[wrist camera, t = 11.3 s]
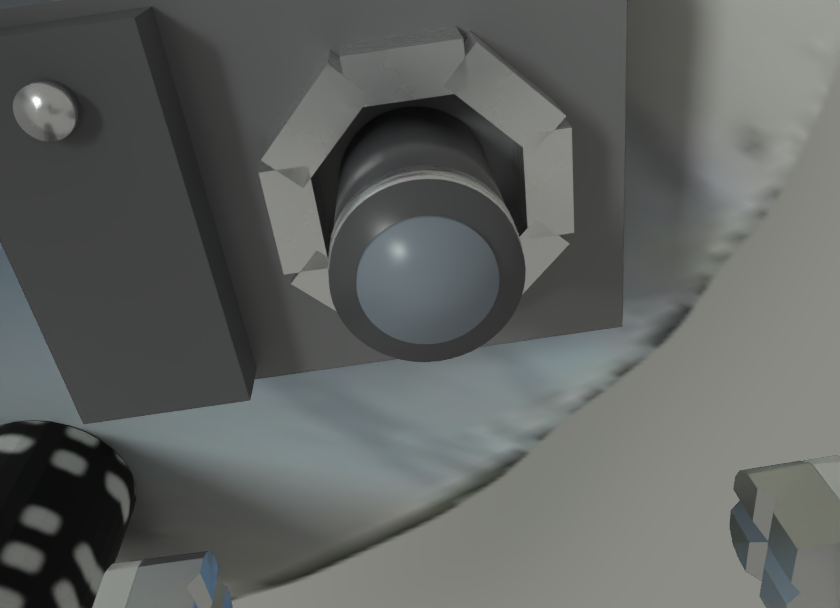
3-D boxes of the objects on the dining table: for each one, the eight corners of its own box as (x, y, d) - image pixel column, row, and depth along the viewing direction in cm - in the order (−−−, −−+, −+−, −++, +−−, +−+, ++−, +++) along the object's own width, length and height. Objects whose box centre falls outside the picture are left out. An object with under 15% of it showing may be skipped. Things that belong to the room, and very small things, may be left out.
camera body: (138, 331, 33) (83, 445, 26) (10, -7, 26) (-108, 34, 19) (587, 266, 33) (644, 365, 26) (583, -90, 26) (659, -77, 19)
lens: (351, 257, 26) (344, 378, 20) (325, 115, 24) (308, 203, 18) (495, 239, 26) (532, 354, 20) (484, 94, 24) (524, 175, 17)
